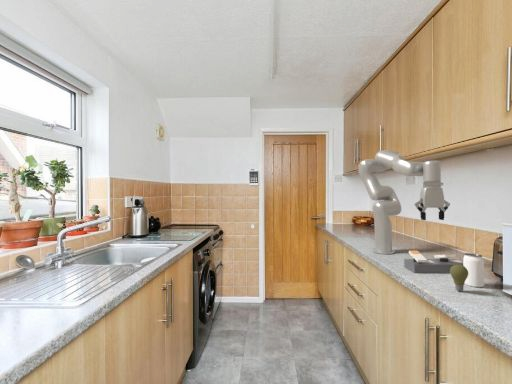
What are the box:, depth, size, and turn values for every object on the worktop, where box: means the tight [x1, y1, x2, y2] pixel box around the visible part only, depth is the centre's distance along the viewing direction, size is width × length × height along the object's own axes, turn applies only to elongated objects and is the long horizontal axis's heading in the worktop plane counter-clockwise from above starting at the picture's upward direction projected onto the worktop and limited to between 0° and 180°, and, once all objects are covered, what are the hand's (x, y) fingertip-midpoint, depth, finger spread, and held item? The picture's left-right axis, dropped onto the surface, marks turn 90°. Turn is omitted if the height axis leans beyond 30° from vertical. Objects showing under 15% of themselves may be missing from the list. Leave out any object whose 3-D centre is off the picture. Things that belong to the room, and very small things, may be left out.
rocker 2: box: [433, 254, 455, 259], centre depth 131 cm, size 9×4×1 cm, turn 176°
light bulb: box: [449, 264, 468, 292], centre depth 104 cm, size 6×6×10 cm
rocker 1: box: [408, 250, 428, 262], centre depth 132 cm, size 9×4×1 cm, turn 177°
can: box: [462, 252, 485, 289], centre depth 110 cm, size 6×6×12 cm
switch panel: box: [403, 257, 463, 274], centre depth 131 cm, size 10×24×6 cm, turn 86°
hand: (432, 219), depth 140 cm, fingers open, 8 cm apart
